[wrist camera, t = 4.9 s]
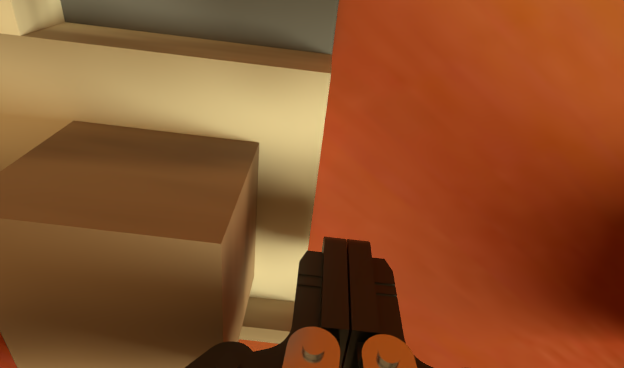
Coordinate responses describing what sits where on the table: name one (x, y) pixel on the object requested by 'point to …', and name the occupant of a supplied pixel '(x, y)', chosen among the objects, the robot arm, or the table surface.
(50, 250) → the walnut block
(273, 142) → the board
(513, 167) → the table surface
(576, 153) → the table surface
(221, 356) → the robot arm
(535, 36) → the table surface
